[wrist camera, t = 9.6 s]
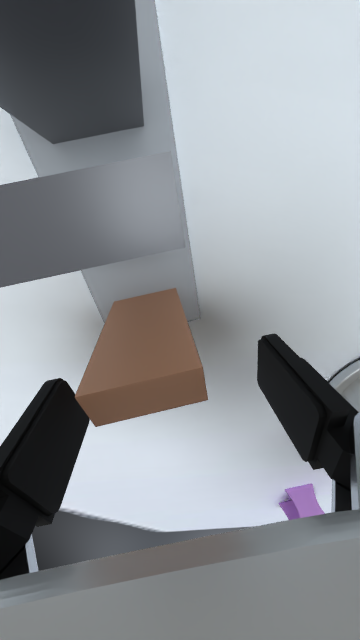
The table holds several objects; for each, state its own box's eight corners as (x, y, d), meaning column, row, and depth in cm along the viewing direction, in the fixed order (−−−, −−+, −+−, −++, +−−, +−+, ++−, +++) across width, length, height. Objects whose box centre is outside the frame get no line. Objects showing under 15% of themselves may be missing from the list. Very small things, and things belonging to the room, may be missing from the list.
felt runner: (199, 316, 17) (200, 318, 17) (112, 336, 17) (111, 338, 17) (45, -730, 4) (36, -816, 4) (-349, -700, 4) (-399, -791, 3)
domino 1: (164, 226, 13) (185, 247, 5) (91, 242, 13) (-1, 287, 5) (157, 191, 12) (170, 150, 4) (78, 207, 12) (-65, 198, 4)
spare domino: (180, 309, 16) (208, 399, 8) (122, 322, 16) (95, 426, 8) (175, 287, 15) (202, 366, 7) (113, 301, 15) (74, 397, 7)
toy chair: (274, 505, 46) (322, 620, 33) (280, 490, 41) (339, 615, 29) (306, 497, 46) (366, 607, 34) (316, 482, 42) (389, 601, 29)
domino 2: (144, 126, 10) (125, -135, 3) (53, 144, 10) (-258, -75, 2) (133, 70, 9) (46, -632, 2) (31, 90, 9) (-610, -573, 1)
